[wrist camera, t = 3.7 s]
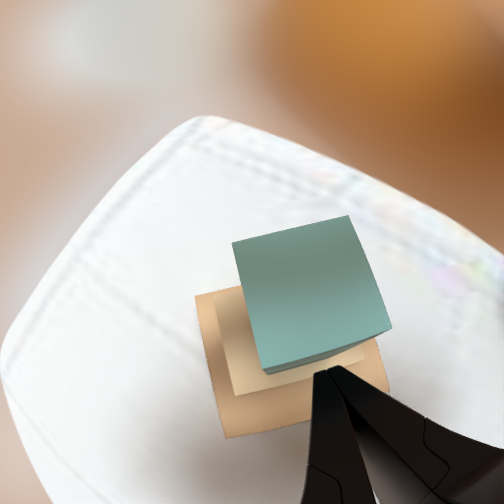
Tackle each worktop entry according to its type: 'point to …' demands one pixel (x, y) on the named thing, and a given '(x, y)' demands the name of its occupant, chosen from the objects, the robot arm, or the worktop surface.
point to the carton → (273, 399)
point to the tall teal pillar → (298, 305)
